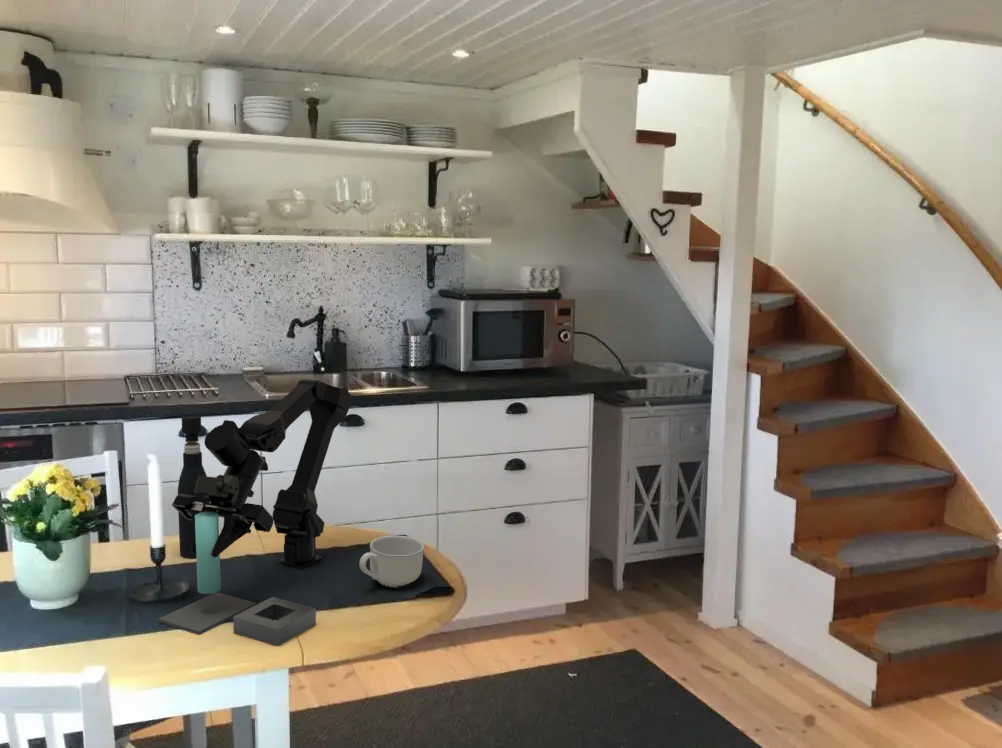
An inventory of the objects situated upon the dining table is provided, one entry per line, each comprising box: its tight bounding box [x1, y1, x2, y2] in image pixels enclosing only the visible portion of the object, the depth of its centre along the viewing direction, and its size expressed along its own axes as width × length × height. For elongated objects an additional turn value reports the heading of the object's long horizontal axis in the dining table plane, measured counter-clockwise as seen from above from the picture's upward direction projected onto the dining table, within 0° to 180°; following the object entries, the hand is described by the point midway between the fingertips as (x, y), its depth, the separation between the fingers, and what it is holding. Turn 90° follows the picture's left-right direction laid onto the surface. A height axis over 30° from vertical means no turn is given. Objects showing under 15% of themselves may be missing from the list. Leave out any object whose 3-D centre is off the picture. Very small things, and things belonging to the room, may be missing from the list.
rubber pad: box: [157, 591, 257, 635], centre depth 167 cm, size 14×10×1 cm
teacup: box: [358, 535, 425, 588], centre depth 182 cm, size 14×11×8 cm
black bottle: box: [177, 414, 211, 560], centre depth 194 cm, size 6×6×30 cm
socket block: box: [232, 596, 317, 647], centre depth 161 cm, size 10×10×3 cm
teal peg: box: [195, 512, 222, 595], centre depth 165 cm, size 4×4×14 cm
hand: (203, 554), depth 163 cm, fingers closed on teal peg, 4 cm apart
